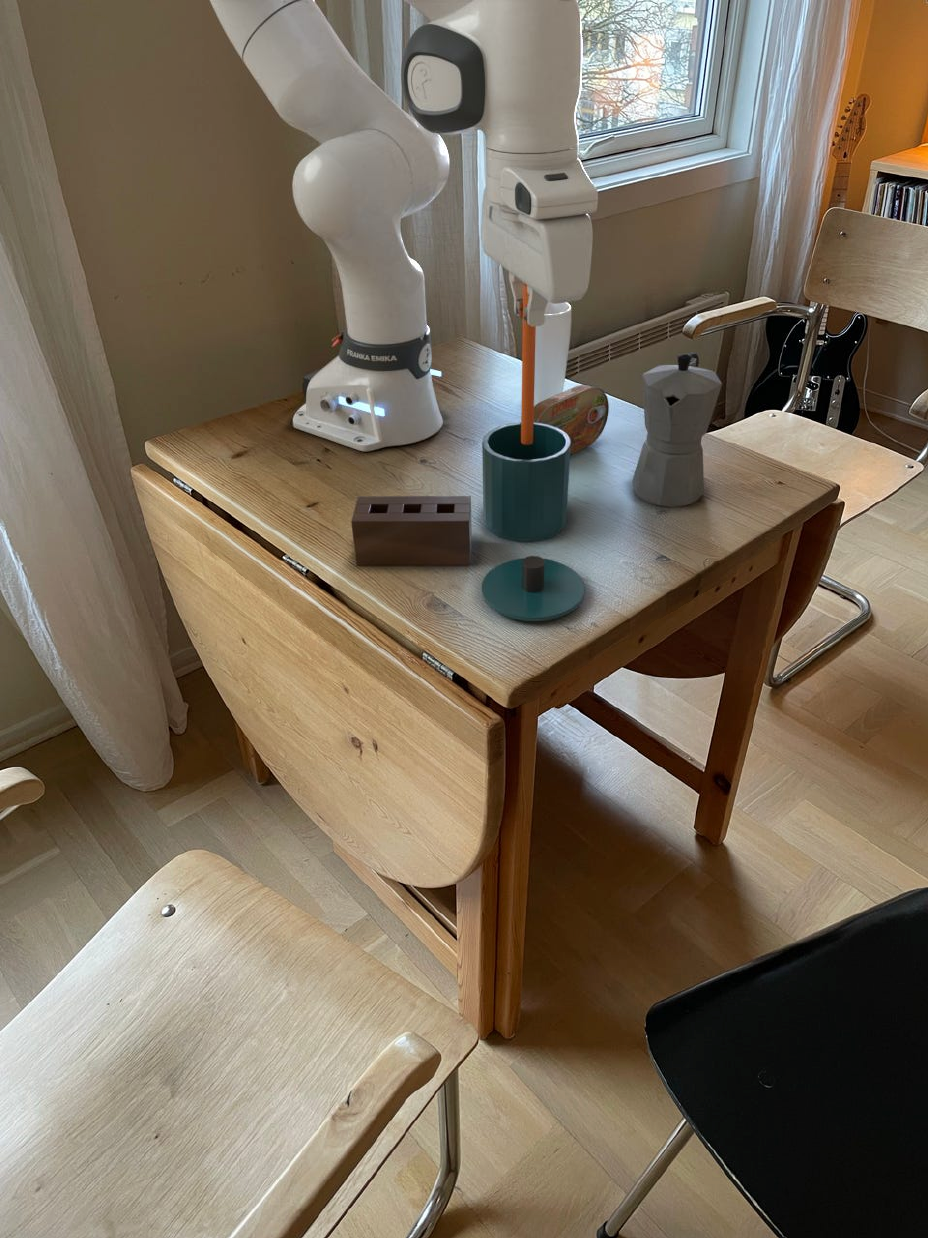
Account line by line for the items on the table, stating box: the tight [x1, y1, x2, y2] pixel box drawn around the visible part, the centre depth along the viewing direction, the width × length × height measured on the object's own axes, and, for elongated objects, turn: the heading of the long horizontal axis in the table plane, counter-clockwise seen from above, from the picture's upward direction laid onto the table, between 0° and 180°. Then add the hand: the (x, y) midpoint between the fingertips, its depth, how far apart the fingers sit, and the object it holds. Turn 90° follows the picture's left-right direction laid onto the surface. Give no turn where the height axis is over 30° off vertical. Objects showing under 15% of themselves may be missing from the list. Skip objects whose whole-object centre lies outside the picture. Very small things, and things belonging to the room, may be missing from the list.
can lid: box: [481, 555, 586, 622], centre depth 96 cm, size 11×11×4 cm
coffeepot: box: [631, 352, 723, 508], centre depth 110 cm, size 15×9×18 cm, turn 159°
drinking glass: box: [534, 301, 572, 406], centre depth 132 cm, size 7×7×15 cm
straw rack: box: [351, 495, 473, 567], centre depth 103 cm, size 6×13×6 cm, turn 88°
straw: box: [520, 284, 536, 445], centre depth 98 cm, size 1×1×18 cm
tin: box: [534, 384, 610, 456], centre depth 122 cm, size 15×3×8 cm, turn 131°
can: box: [481, 421, 571, 542], centre depth 107 cm, size 10×10×11 cm
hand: (529, 319), depth 95 cm, fingers closed on straw, 1 cm apart
